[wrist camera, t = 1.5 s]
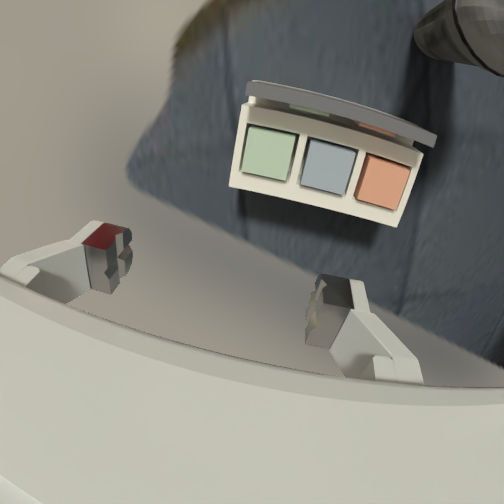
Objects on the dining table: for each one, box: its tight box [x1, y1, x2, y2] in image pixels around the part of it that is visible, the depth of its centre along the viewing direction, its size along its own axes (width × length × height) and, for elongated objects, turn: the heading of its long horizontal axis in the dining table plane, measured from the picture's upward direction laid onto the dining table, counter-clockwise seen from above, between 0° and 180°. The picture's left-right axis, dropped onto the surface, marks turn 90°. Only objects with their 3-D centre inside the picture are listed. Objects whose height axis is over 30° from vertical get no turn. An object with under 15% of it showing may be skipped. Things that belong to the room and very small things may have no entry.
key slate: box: [300, 137, 356, 195], centre depth 24 cm, size 4×4×2 cm
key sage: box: [241, 125, 296, 181], centre depth 24 cm, size 4×4×2 cm
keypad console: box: [229, 80, 437, 227], centre depth 24 cm, size 15×9×8 cm, turn 80°
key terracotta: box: [354, 152, 410, 210], centre depth 24 cm, size 4×4×2 cm
